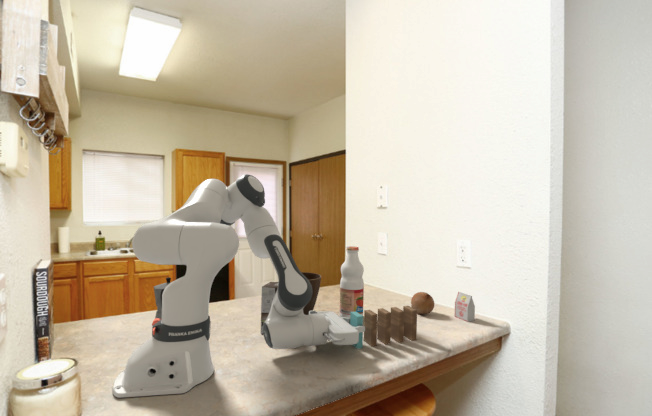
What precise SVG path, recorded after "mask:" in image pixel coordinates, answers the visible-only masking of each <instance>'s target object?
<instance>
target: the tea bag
mask: <svg viewBox="0 0 652 416" xmlns="http://www.w3.org/2000/svg"><path fill="white" fill-rule="evenodd" d="M475 308H476V305H475V303H474V299H473V295H470V294H468V293H463V292H461V291H458V292H457V295H456V298H455V301H454V317H455V318H456V319H460V320H462V321H465V322H467V323H469V322H475V319H476V318H475V317H476V316H475V315H476V313H475V311H476V309H475Z"/></svg>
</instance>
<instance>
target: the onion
mask: <svg viewBox="0 0 652 416" xmlns="http://www.w3.org/2000/svg"><path fill="white" fill-rule="evenodd" d="M410 300H411V301H410V304H411V306H410V307H412V308H414V309H416V310H417V314H418V315H429V314H431V313H432V312H433V311H434V308H435V301H434V298H433V296H431V294H429V293H428V292H425V291H419V292H416V293H414V294H413V295H412V297H411V299H410Z"/></svg>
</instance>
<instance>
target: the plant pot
mask: <svg viewBox="0 0 652 416" xmlns="http://www.w3.org/2000/svg"><path fill="white" fill-rule="evenodd" d="M301 273H302V274H303V275H304V276H305V277H306V278H307V279H308V280H309V282H310V283H311V286H312V290H313V293H312V298H311V300H310V301H309V303H308V304H307V305H306V306H305V307H304V308H303V313H304V314H305V315H309V311H314V309H315V306H316V303H317V299H318V296H319V292H320V288H321V281H322V275H321V274H319V273H316V272H315V273H314V272H306V271H305V272H304V271H301Z"/></svg>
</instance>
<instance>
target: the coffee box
mask: <svg viewBox="0 0 652 416" xmlns="http://www.w3.org/2000/svg"><path fill="white" fill-rule="evenodd" d="M277 289H278V281H269V282H268V283H267V284H264V285H263V286H261V302H260V303H261V304H260V311H261V313H260V334H262V335H264V334H263V324H264V322H265V321H266V319H267V317H268V315H269V312H270V309H271V305H272V301H273V298H274V296H275V294H276V291H277Z"/></svg>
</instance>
